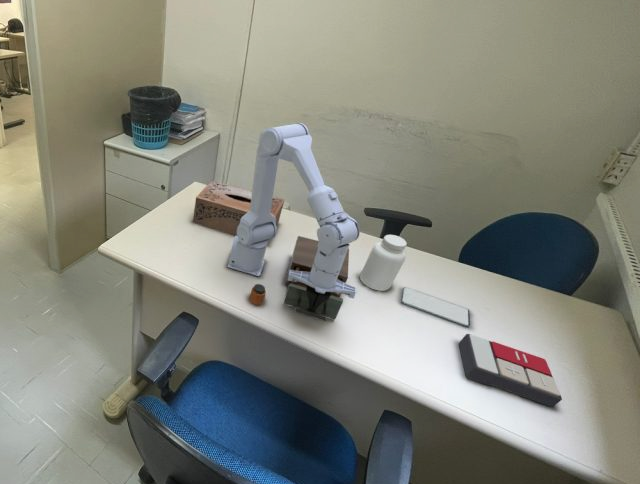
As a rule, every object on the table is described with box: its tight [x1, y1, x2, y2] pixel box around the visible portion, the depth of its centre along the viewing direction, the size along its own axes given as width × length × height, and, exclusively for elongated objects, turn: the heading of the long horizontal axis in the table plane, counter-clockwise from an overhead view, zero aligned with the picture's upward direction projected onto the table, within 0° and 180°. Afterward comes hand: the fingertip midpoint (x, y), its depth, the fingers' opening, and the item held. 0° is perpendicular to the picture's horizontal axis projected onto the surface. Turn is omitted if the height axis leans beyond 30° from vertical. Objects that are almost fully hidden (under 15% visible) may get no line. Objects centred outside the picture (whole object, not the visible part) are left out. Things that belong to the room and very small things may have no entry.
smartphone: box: [401, 287, 471, 327], centre depth 105 cm, size 7×1×15 cm
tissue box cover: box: [192, 180, 285, 246], centre depth 135 cm, size 26×14×10 cm, turn 59°
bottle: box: [248, 283, 267, 306], centre depth 105 cm, size 4×4×5 cm
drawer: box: [283, 266, 344, 322], centre depth 103 cm, size 17×13×6 cm
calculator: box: [458, 333, 563, 408], centre depth 87 cm, size 11×4×15 cm
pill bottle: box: [359, 234, 408, 292], centre depth 109 cm, size 8×8×15 cm
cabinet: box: [284, 235, 350, 298], centre depth 112 cm, size 14×14×8 cm
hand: (312, 309), depth 98 cm, fingers closed, pressing on drawer
